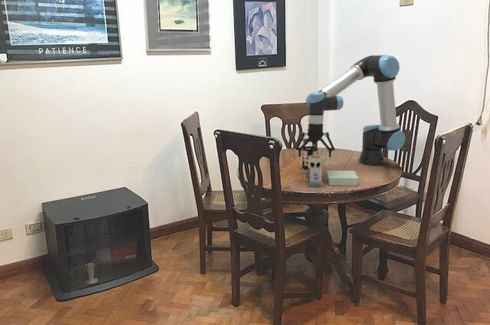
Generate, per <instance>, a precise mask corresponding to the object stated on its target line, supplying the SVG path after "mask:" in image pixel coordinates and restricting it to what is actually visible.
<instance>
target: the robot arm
mask: <svg viewBox="0 0 490 325" xmlns="http://www.w3.org/2000/svg"><path fill="white" fill-rule="evenodd" d="M399 72H400V62H399V60H398V59H397V58H396V57H395V56H393V55H387V54H380V55H375V54H373V55H372V54H371V55H368V56H365V57H363V58H361V59H359V60H358V61H357V62H355V63H353V64H352V65H351V66H350V69H348V70H347V71H345V72H344V73H342V74H341V75H340V76H338V77H337V78H335V79H334V80H333V81H331V82H330V83H328V84H327V85H326V86H324V87H323V88H321V89H320V90H318V91H317V92H310V93H309V94H308V95H307V97H306V100H305V102H306V105H307V106H308V124H307V129H308V130H307V132H305V131H302V132H301V137H300V138H299V140H298V142H297V144H296V146H295V151H298V157H299V158H300V164H302V152H303V153H304V151H302V149H303V148H304V147H305V146H308V145H307V144H309V143H310V140H311V141H317V142H319V141H320V142H321V143H322V144H323V146H324V147H325V148H326V164H327V165H329V161H330V159H329V158H331V157H332V152H333V151H335V150H336V149H335V146H334V144H333V142H332V140H331V137H330V133H329V132H328V131H326V132H324V112H325V111H328V112H329V111H337V110H338V111H340V110H341V109H342V108H343V106H344V99H343V97H342V96H340V95H339V94H341V93H342V92H344V90H346V89H347V88H349V87H350V86H351V85H353V84H355V83H356V82H357V81H361V80H363V79H365V78H367V77H372V78H373V82H374V84H376V88H377V90H376V91H377V97H378V98H377V99H378V109H379V118H380V120H379V121H380V124H370V125H368V124H367V125H364V127H363V130H362V146H361V147H362V148H361V151H360V155H359V157H358V163H359V164H362V165H365V166H366V165H367V166H382V165H384V164H385V157H384V156H385V155H384V153H383V149H384V150H387V151H399V150H401V148H402V147H403V146H404V144H405V141H406V134H405V133H404V132H403V131H402V130H401V125H400V124H399V123H398V122H397V111H396V102H395V101H396V99H395V90H394V89H395V88H394V82H395V80H396V77H397V75H399ZM306 136H307V138H308V139H307V140H306V141H305V142H304V143H302V142H303V139H305V138H306ZM324 136H325V138H326V139H327V140H328V141H327V142H328V143H329V145H330V146H329V145H328V143H326V141H325V140H324V138H323V137H324ZM300 145H301V146H300Z"/></svg>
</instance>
